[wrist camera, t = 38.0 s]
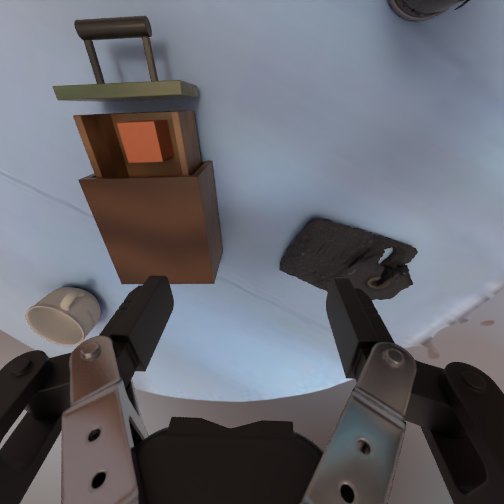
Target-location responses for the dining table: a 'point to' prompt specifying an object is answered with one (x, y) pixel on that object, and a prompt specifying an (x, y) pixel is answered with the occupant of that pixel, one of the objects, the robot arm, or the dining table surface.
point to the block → (146, 140)
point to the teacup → (64, 316)
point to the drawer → (105, 125)
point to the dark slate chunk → (348, 259)
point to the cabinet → (159, 225)
